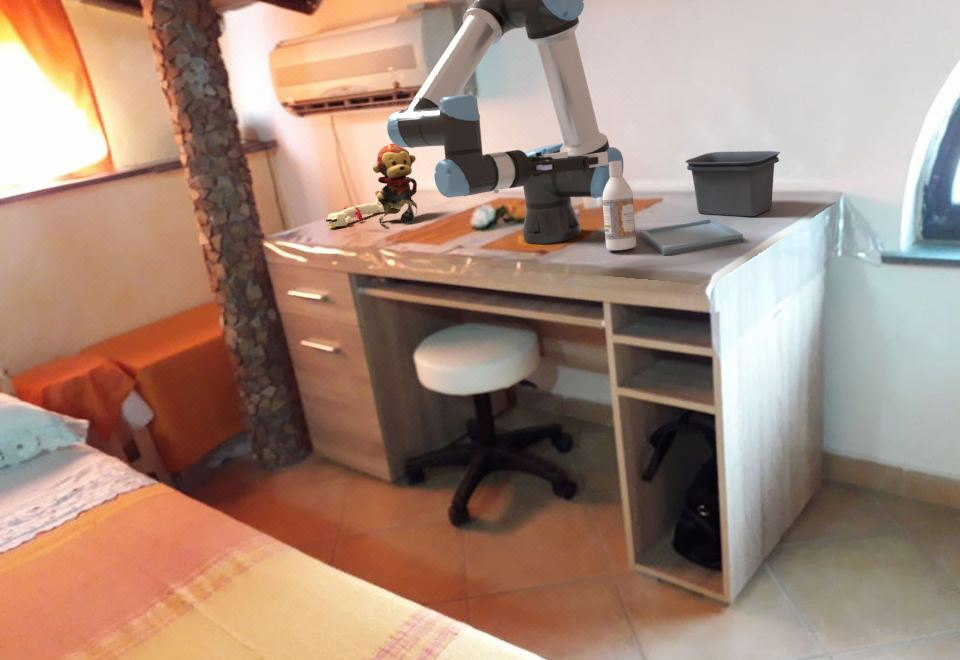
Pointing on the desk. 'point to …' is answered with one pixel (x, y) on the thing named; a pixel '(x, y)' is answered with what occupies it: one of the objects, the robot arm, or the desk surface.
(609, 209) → the bath foam
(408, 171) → the stuffed monkey
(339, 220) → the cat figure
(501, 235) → the desk surface
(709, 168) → the storage bin
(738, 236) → the tray
